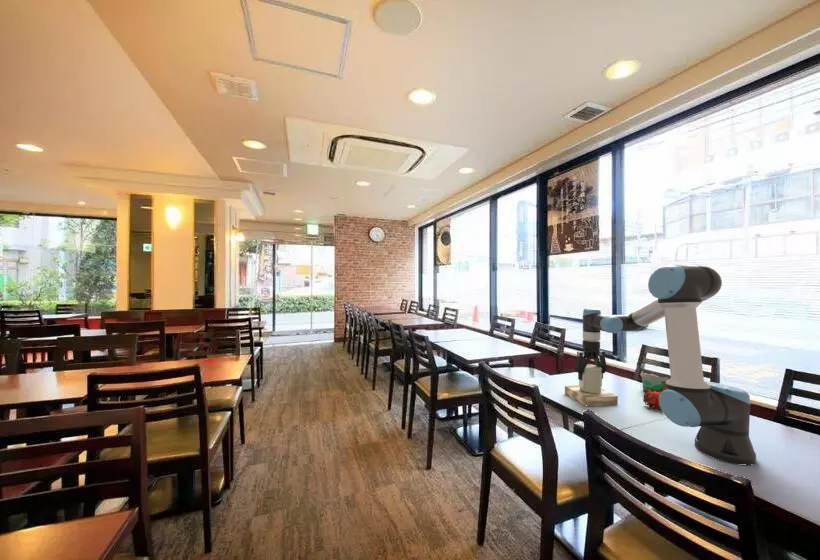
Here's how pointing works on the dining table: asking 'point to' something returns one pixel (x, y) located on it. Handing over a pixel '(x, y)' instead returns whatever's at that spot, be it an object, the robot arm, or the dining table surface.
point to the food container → (653, 382)
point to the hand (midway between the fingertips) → (590, 386)
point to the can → (592, 379)
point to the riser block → (591, 396)
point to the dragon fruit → (652, 399)
